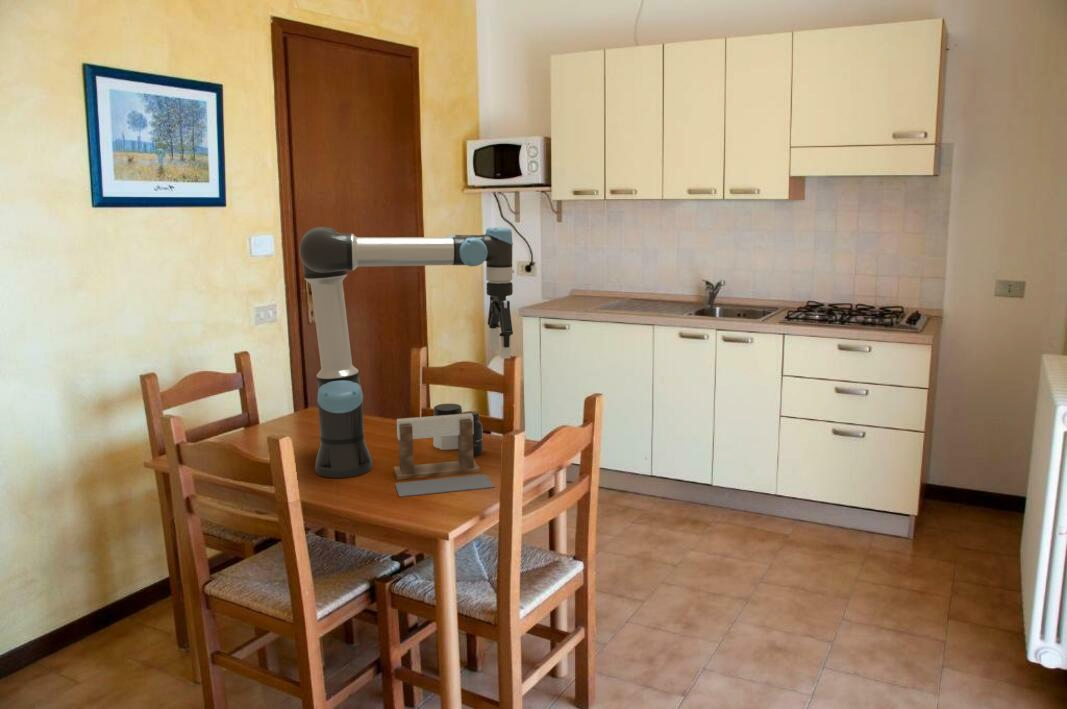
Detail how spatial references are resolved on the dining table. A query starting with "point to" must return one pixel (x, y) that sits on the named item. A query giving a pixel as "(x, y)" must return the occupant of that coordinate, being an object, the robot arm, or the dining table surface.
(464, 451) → the stand
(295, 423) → the dining table surface
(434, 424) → the rail
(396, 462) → the dining table surface
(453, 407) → the jar
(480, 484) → the mat
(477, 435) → the supplement bottle
